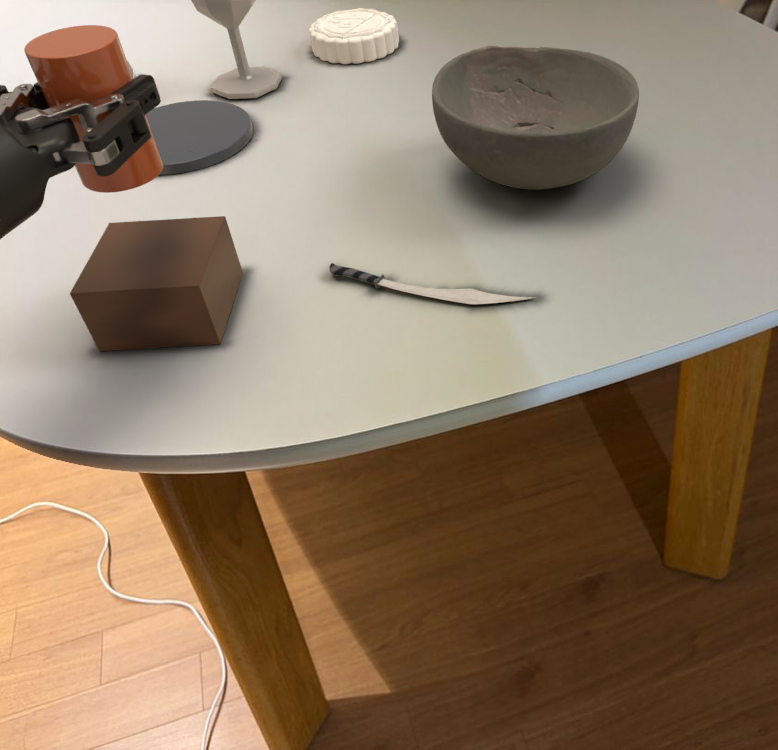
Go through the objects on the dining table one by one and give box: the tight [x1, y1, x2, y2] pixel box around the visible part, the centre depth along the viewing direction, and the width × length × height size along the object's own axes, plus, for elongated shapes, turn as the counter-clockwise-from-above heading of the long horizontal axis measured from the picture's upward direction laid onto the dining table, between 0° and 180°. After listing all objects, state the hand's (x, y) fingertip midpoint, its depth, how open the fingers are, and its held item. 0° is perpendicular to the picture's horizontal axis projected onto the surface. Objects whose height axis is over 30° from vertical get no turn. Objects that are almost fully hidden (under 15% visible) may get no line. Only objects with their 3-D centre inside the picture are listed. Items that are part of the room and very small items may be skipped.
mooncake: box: [308, 7, 400, 65], centre depth 110 cm, size 12×12×4 cm
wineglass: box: [190, 0, 283, 100], centre depth 96 cm, size 9×9×21 cm
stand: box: [69, 215, 244, 352], centre depth 67 cm, size 10×10×6 cm
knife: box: [329, 262, 537, 305], centre depth 70 cm, size 19×2×1 cm, turn 74°
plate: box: [146, 99, 254, 176], centre depth 92 cm, size 16×16×1 cm
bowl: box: [431, 45, 640, 190], centre depth 81 cm, size 20×20×10 cm
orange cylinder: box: [23, 24, 163, 194], centre depth 58 cm, size 6×6×10 cm
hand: (114, 83), depth 59 cm, fingers closed on orange cylinder, 6 cm apart
